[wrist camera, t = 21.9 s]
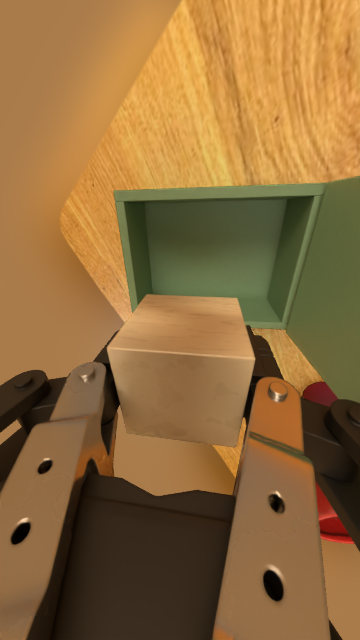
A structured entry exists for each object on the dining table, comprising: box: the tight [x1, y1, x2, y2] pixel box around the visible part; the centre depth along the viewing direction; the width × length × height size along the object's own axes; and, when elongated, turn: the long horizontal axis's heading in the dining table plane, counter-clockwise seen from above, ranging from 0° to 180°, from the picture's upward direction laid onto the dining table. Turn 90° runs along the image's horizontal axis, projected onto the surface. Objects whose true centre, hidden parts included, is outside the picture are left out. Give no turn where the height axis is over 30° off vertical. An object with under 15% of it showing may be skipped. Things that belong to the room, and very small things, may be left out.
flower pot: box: [315, 481, 355, 544], centre depth 34 cm, size 13×13×12 cm
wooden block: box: [107, 294, 256, 447], centre depth 9 cm, size 4×4×4 cm
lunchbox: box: [114, 183, 328, 330], centre depth 22 cm, size 17×13×7 cm
